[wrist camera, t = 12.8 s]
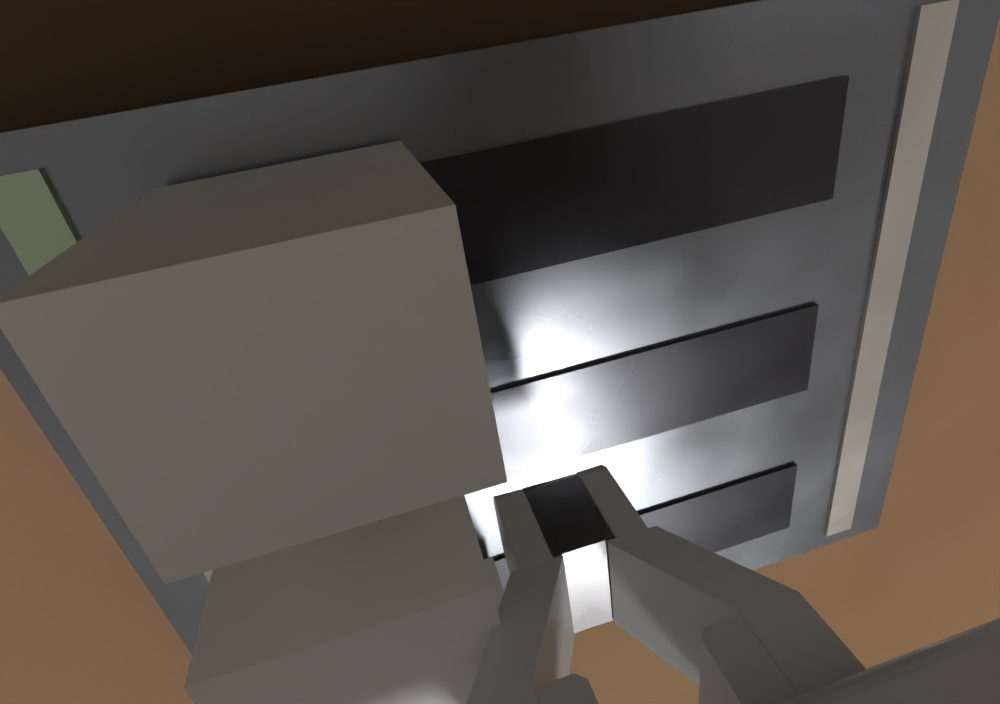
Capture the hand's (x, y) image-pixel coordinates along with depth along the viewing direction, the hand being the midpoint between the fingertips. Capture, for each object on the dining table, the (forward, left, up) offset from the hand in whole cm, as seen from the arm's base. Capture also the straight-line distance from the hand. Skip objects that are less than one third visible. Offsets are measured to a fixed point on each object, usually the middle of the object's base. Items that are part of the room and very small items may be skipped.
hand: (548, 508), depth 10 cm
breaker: (+3, -5, -2) cm, 6 cm away
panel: (-1, 0, -4) cm, 4 cm away
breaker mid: (+3, 0, -2) cm, 4 cm away
